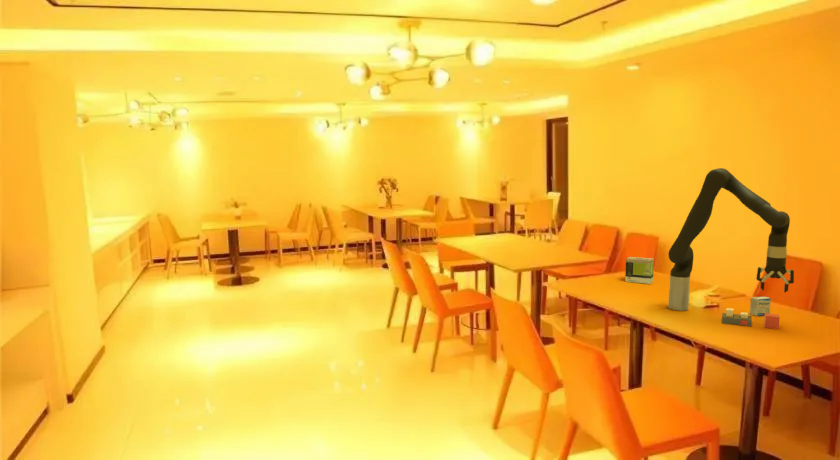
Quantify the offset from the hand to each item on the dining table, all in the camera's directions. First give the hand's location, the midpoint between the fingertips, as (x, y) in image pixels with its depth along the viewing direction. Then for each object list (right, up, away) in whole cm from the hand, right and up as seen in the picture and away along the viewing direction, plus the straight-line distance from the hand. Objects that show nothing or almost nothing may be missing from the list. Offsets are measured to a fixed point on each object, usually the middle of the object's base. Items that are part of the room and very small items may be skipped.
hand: (774, 291), depth 256 cm
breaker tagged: (-9, -16, +8) cm, 20 cm away
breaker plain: (-15, -14, +10) cm, 23 cm away
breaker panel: (-12, -16, +9) cm, 22 cm away
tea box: (-24, -5, +95) cm, 98 cm away
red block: (0, -17, +2) cm, 17 cm away
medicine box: (+6, -14, +22) cm, 27 cm away
